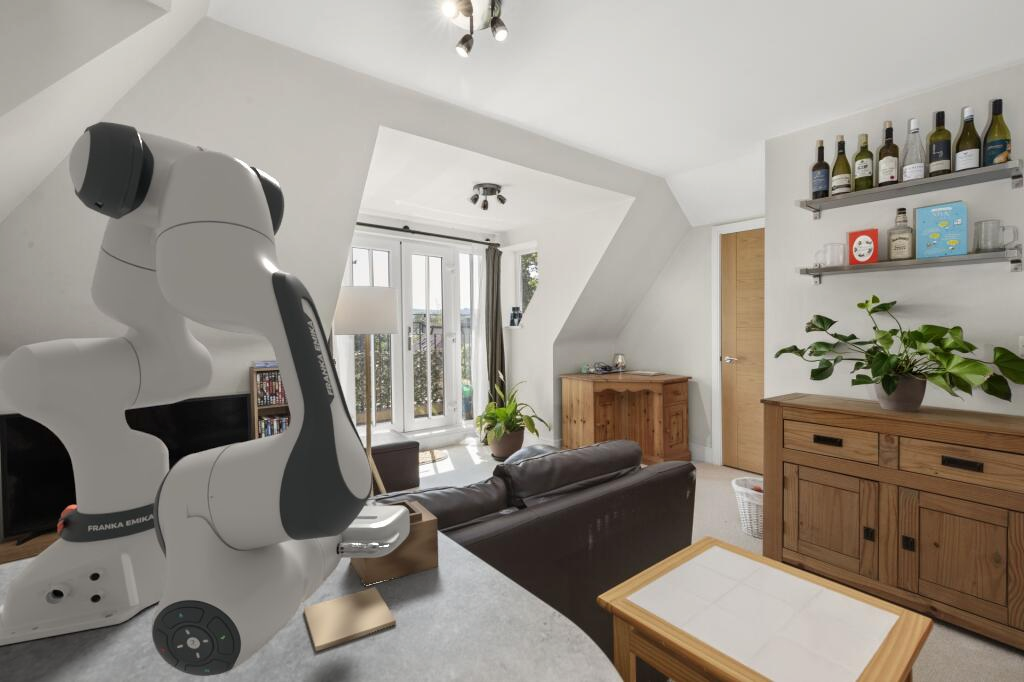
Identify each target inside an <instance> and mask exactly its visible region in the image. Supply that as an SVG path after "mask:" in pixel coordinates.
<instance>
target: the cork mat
mask: <svg viewBox="0 0 1024 682" xmlns="http://www.w3.org/2000/svg"><path fill="white" fill-rule="evenodd" d="M303 613H304V617H305V620H306V623H307V626H308V630H309V632H310V633H309V634H310V637H311V641H312V643H313V647H314V650H315V652H319V651H322V650H325V649H327V648H331V647H333V646H337V645H340V644H343V643H345V642H349V641H352V640H355V639H358V638H360V637H361V638H362V637H364V636H366V635H370V634H373V633H376V632H378V631H377V630H379V631H381V630H380V629H382V630H384V629H383V628H385V629H387V628H386V627H388V628H390V627H389V626H391V627H393V626H392V625H394V626H396V625H397V620H396V618H395V616H394V615H393V614H392V612H391V610H390V608H389V606H387V603H386V602H385V600H384V598H383V597H382V596H381V594H380V592H379V591H378V589H377V587H376V586H374V587H372V588H368V589H363V590H361V591H357V592H354V593H350V594H347V595H343V596H340V597H336V598H333V599H330V600H326V601H322V602H319V603H315V604H312V605H309V606H308V605H307V606H304V607H303ZM395 624H396V625H395ZM375 631H376V632H375ZM372 632H373V633H372ZM369 633H370V634H369Z"/></svg>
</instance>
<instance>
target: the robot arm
mask: <svg viewBox="0 0 1024 682" xmlns="http://www.w3.org/2000/svg"><path fill="white" fill-rule="evenodd" d="M68 168H69V176H70V179H71V182H72V185H73V187H74V188H73V189H74V193H75V196H76V197H77V198H78V199H79V200H80V201H81V202H82V204H84V206H86V207H87V208H88V209H90V210H92V211H94V212H97V213H100V214H101V215H104V216H107V217H109V218H108V221H107V224H106V226H105V230H104V233H103V235H102V236H103V237H102V239H101V244H100V248H99V253H98V258H97V262H96V266H95V269H94V275H93V279H92V283H91V288H90V293H91V298H92V301H93V304H94V305H95V306H96V308H98V311H99V310H100V312H101V313H102V314H104V315H105V316H107V317H109V318H110V319H111V320H114V321H116V322H118V323H119V324H122V325H124V326H126V327H127V331H126V333H125V334H124V335H123V336H117V337H84V338H83V337H81V338H77V337H76V338H75V337H74V338H60V339H54V340H47V341H41V342H36V343H31V344H27V345H21V346H19V347H17V348H16V349H15V350H14V351H13V352H12V353H10V354H9V355H8V357H7V358H6V359H5V360H4V362H3V364H2V366H1V368H0V394H1V396H2V398H3V400H4V401H5V402H6V404H7V405H8V406H9V407H10V408H11V409H13V410H14V411H15V412H16V413H18V414H20V415H22V416H23V417H25V418H28V419H31V420H33V421H35V422H37V423H39V424H41V425H42V426H45V428H48V429H49V430H50V431H51V432H52V433H53V434H54V436H56V437H57V438H58V439H59V440H60V441H61V443H62V444H63V446H64V448H65V449H66V451H67V452H68V454H69V457H70V459H71V464H72V471H73V477H74V484H75V485H74V486H75V487H74V488H75V497H76V498H75V499H76V504H71V505H68V506H67V507H65V509H64V510H63V511H62V512H61V514H60V518H59V519H58V523H57V534H58V535H59V539H56V541H54V542H53V543H51V544H50V545H49V546H48V547H46V549H44V550H43V551H41V552H40V553H39V554H37V555H36V556H35V557H33V559H31V560H30V561H29V562H27V563H26V564H25V565H24V566H23V567H22V568H21V569H20V570H19V571H18V572H17V573H16V574H14V575H15V576H14V577H13V578H12V580H11V581H10V583H9V585H8V587H7V590H6V593H5V597H4V601H3V603H2V604H1V605H0V646H4V645H10V644H15V643H17V644H18V643H23V642H26V641H27V642H28V641H33V640H38V639H43V638H49V637H53V636H59V635H65V634H71V633H75V632H82V631H85V630H86V631H87V630H91V629H98V628H103V627H108V626H113V625H118V624H121V623H123V622H125V621H128V620H130V619H131V618H133V617H134V616H135V615H137V614H138V613H139V612H141V611H142V610H144V609H146V608H148V607H150V606H152V605H153V604H156V603H157V606H156V609H155V611H154V613H153V617H152V620H151V621H152V622H151V637H152V642H153V645H154V647H155V649H156V651H157V653H158V654H159V656H160V657H161V658H162V659H163V660H164V661H165V662H166V663H167V664H168V665H170V666H171V667H172V668H174V669H175V670H178V671H179V672H181V673H185V674H187V675H191V676H199V677H207V676H217V675H222V674H225V673H229V672H231V671H233V670H235V669H236V668H238V667H240V666H241V665H243V664H244V663H246V662H247V661H249V660H250V659H251V658H253V657H254V656H255V655H256V654H257V653H258V652H260V651H261V650H262V649H263V648H265V647H266V646H267V645H268V644H269V643H270V642H271V641H272V640H273V639H274V638H275V637H276V636H277V635H278V634H279V633H280V632H281V631H282V630H283V629H284V627H286V625H287V624H288V623H289V622H290V621H291V620H292V618H293V617H294V616H295V615H296V613H297V612H298V610H299V608H300V607H301V605H302V603H304V602H306V601H307V600H308V599H310V598H311V597H312V596H313V595H314V594H315V593H316V592H317V590H318V589H319V588H320V587H321V586H322V585H323V584H324V582H325V581H327V579H328V578H329V577H330V576H331V575H332V574H333V573H334V571H335V570H336V568H337V567H339V564H340V561H341V559H342V558H345V559H346V558H374V557H381V556H384V555H387V554H389V553H390V552H392V551H393V550H394V549H396V548H397V547H398V546H399V545H400V544H401V543H402V542H403V541H404V540H405V539H406V537H407V536H408V535H409V531H410V517H409V510H408V509H407V508H406V507H405V506H401V505H397V506H378V505H377V500H376V499H370V496H371V494H372V491H373V474H372V467H371V464H370V460H369V457H368V454H367V451H366V449H365V446H364V443H363V442H362V439H361V436H360V434H359V433H358V432H359V431H358V429H357V427H356V426H355V424H354V421H353V419H352V417H351V413H350V410H349V407H348V404H347V400H346V397H345V394H344V390H343V387H342V385H341V381H340V378H339V374H338V371H337V368H336V364H335V362H334V361H335V360H334V358H333V355H332V351H331V348H330V345H329V341H328V339H327V335H326V333H325V329H324V325H323V323H322V320H321V318H320V317H321V316H320V315H319V311H318V310H317V306H316V304H315V301H314V299H313V298H312V296H311V294H310V292H309V290H308V289H307V287H306V286H305V284H304V283H303V282H302V281H301V279H299V278H298V277H297V276H295V275H293V274H292V273H289V272H286V271H285V272H284V271H283V269H282V268H281V266H280V263H279V261H278V257H277V249H276V239H275V236H276V235H277V233H278V231H279V229H280V227H281V225H282V222H283V218H284V214H285V197H284V194H283V191H282V188H281V186H280V183H279V182H278V181H277V180H276V179H275V178H273V177H271V176H270V175H269V174H268V173H266V172H264V171H262V170H260V169H259V168H256V167H254V166H249V165H248V164H247V163H245V162H244V161H242V160H240V159H238V158H236V157H234V156H233V155H230V154H227V153H223V152H218V151H212V150H211V149H208V148H205V147H202V146H199V145H198V146H194V145H191V144H188V143H186V142H181V141H179V140H176V139H172V138H169V137H164V136H160V135H156V134H153V133H148V132H143V131H139V130H137V128H136V127H135V126H130V125H126V124H121V123H116V122H106V121H99V122H97V123H95V124H92V125H90V126H88V127H86V128H85V130H84V132H83V134H82V135H80V136H79V138H78V139H77V140H76V141H75V143H74V145H73V147H72V149H71V152H70V155H69V161H68ZM188 319H189V320H191V321H192V322H195V323H196V324H199V325H203V326H205V327H209V328H212V329H215V330H220V331H225V332H228V333H235V334H246V335H251V336H252V335H255V336H259V337H265V338H266V339H267V340H268V342H269V343H270V344H271V346H272V349H273V352H274V355H275V359H276V364H277V367H278V370H279V376H280V378H281V382H282V386H283V390H284V394H285V397H286V401H287V405H288V409H289V412H290V423H289V425H288V427H287V428H286V429H285V431H283V432H280V433H278V434H272V435H267V436H264V437H260V438H255V439H252V440H247V441H243V442H235V443H231V444H227V445H223V446H218V447H215V448H210V449H207V450H203V451H199V452H196V453H194V452H193V453H190V454H188V455H186V456H183V457H181V458H180V459H179V460H177V461H176V462H175V463H174V465H172V466H171V468H170V459H169V455H170V454H169V450H168V447H167V446H166V444H165V443H164V442H163V440H162V439H161V438H158V436H155V435H153V434H150V433H146V432H144V431H140V430H135V429H132V428H131V427H130V425H129V424H128V423H127V419H126V413H125V412H126V410H127V411H128V410H132V409H141V408H148V407H154V406H155V407H156V406H164V405H171V404H175V403H179V402H182V401H185V400H188V399H192V398H194V397H196V396H200V395H201V394H204V392H205V391H206V390H208V388H209V386H210V384H211V383H212V380H213V378H214V373H215V366H214V364H215V363H214V359H213V357H212V355H211V352H209V350H208V349H207V348H206V346H205V345H203V343H201V342H200V341H198V340H197V338H195V337H194V336H193V333H192V332H191V330H190V328H189V324H188Z"/></svg>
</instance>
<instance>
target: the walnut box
mask: <svg viewBox="0 0 1024 682" xmlns="http://www.w3.org/2000/svg"><path fill="white" fill-rule="evenodd" d="M397 505H401V506H405V507H406V508H407V509H408V510H409V517H410V531H409V535H408V536H407V537H406V539H405V540H404V541H403V542H402V543H401V544H400V545H399V546H398V547H397V548H396V549H394V550H393V551H392V552H390V553H389V554H387V555H384V556H381V557H374V558H350V563H351V565H352V566H353V568H354V570H355V572H356V571H357V572H356V573H357V575H358V577H359V579H360V578H361V579H360V581H361V582H362V581H363V582H362V584H363V583H364V584H365V586H366V585H369V584H373V583H376V582H380V581H384V580H388V579H392V578H395V579H398V577H399V578H402V577H405V575H406V576H409V575H412V574H416V573H419V572H423V571H426V570H427V571H428V570H430V569H434V568H437V567H439V533H438V532H439V531H438V530H439V529H438V517H437V516H435V515H434V514H433V513H432V512H431V511H429V510H428V508H426V507H425V506H423V505H422V504H421V503H420V502H419V501H417V500H413V501H409V500H408V499H404V500H398V501H394V502H389V503H385V504H384V503H383V504H379V505H378V504H377V506H397ZM401 576H402V577H401ZM392 580H393V579H392ZM388 581H389V580H388ZM364 584H363V585H364ZM365 586H364V587H365Z"/></svg>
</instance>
